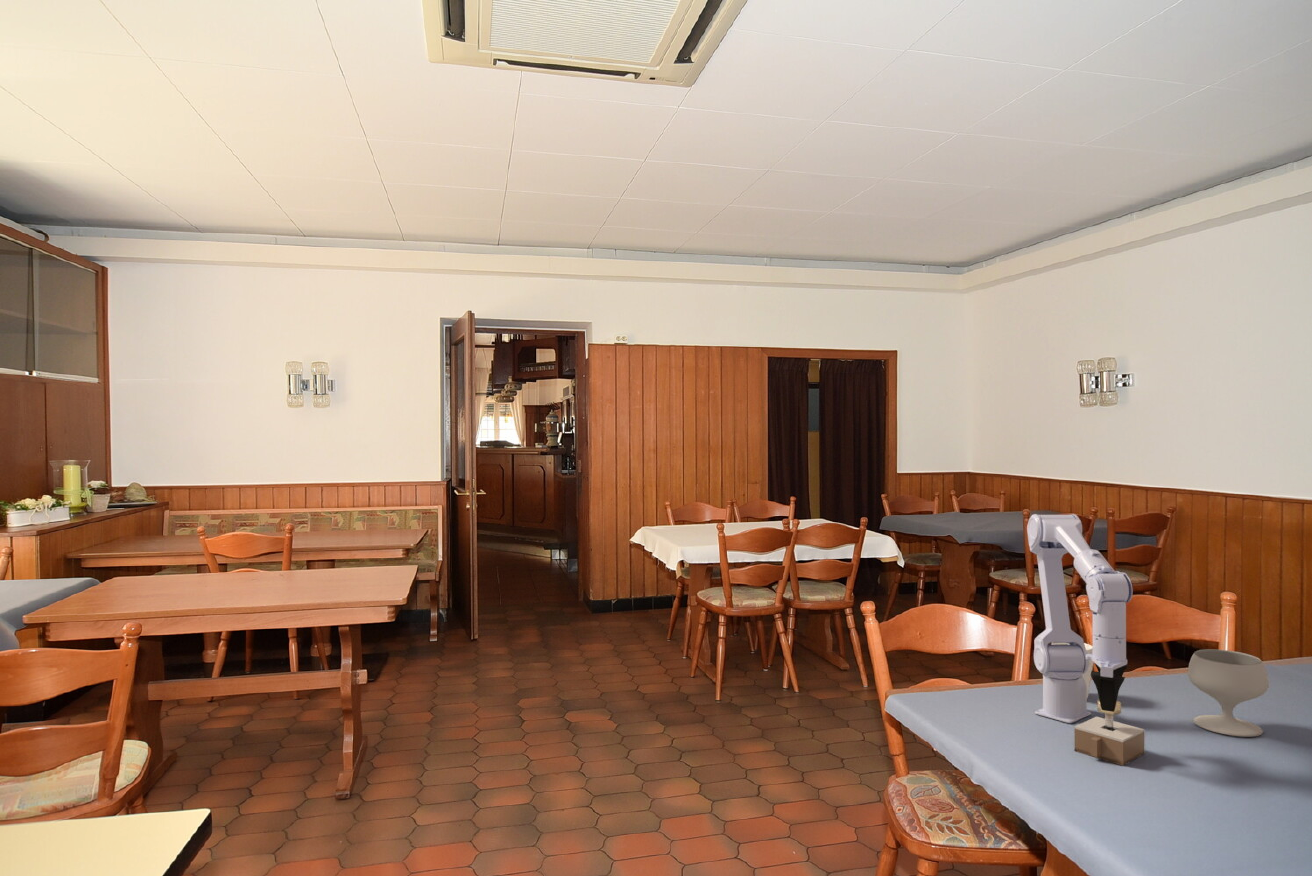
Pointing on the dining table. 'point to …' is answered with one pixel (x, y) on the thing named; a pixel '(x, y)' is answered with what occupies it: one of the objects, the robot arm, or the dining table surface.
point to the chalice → (1228, 687)
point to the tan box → (1109, 741)
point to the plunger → (1110, 715)
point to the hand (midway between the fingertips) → (1109, 704)
